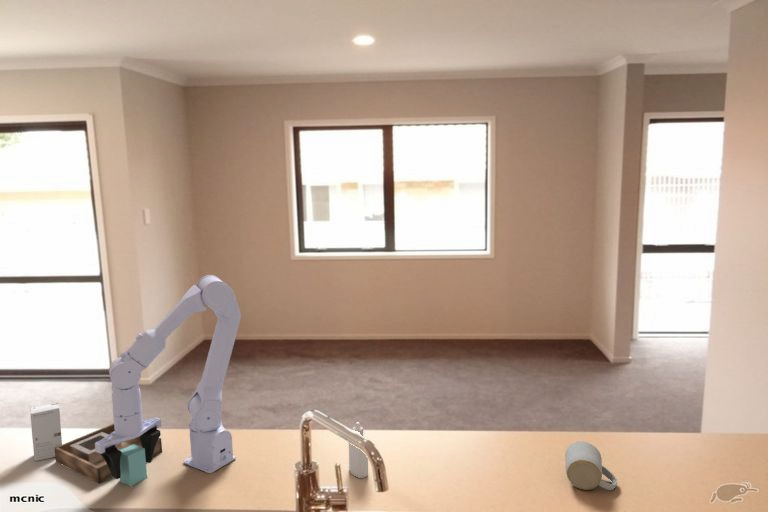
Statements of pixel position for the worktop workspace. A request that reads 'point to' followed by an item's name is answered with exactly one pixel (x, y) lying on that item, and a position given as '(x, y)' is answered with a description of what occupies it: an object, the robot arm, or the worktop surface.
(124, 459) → the teal plug
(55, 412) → the skincare box
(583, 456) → the ceramic mug
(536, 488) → the worktop surface
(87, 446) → the metal socket
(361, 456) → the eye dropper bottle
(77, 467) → the walnut tray
